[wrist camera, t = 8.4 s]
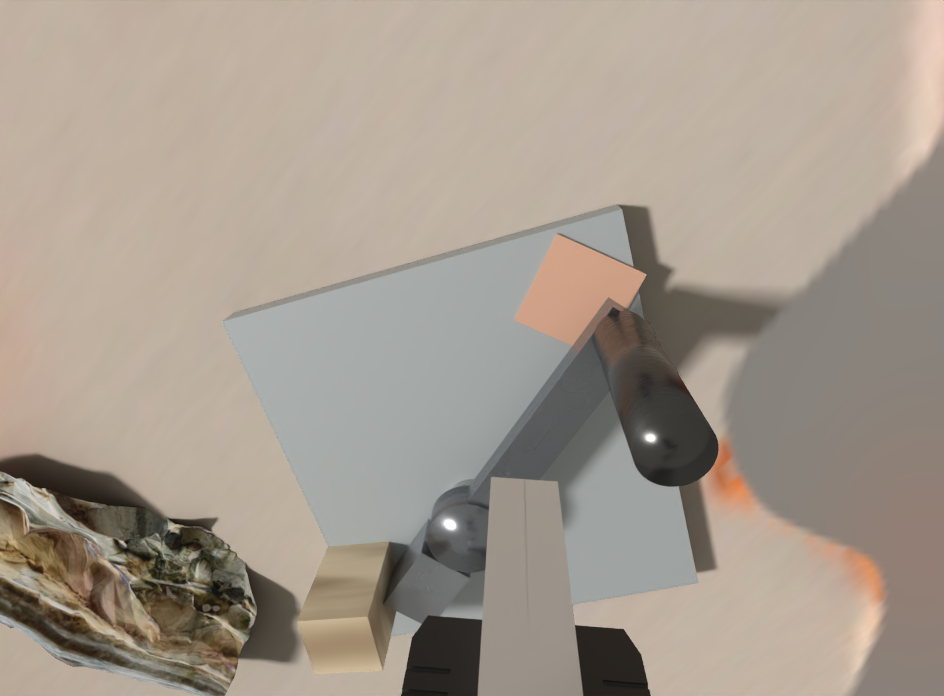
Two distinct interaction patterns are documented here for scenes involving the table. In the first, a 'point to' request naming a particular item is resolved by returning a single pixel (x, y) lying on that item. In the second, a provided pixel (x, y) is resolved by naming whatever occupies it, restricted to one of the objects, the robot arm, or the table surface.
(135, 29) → the table surface
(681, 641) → the table surface
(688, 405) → the lever
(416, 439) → the board
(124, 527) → the rock
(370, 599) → the beech block
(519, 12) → the table surface
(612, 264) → the plate
